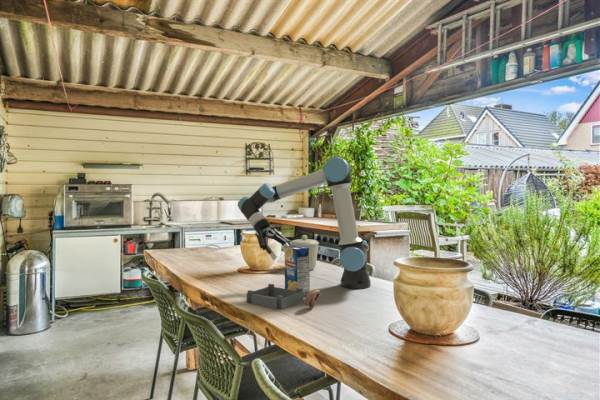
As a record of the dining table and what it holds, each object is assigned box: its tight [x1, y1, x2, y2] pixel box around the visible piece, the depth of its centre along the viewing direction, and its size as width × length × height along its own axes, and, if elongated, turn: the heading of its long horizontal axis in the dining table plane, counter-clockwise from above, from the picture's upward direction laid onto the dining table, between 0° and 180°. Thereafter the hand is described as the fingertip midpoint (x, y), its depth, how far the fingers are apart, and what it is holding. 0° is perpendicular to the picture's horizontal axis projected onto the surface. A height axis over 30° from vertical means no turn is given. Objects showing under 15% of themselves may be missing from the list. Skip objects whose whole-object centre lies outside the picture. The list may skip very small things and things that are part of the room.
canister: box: [289, 234, 320, 271], centre depth 252 cm, size 18×18×21 cm
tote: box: [246, 283, 305, 310], centre depth 179 cm, size 19×16×5 cm
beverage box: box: [284, 245, 311, 298], centre depth 191 cm, size 7×11×22 cm, turn 33°
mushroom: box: [303, 288, 321, 310], centre depth 168 cm, size 8×6×8 cm
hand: (284, 256), depth 194 cm, fingers open, 13 cm apart
